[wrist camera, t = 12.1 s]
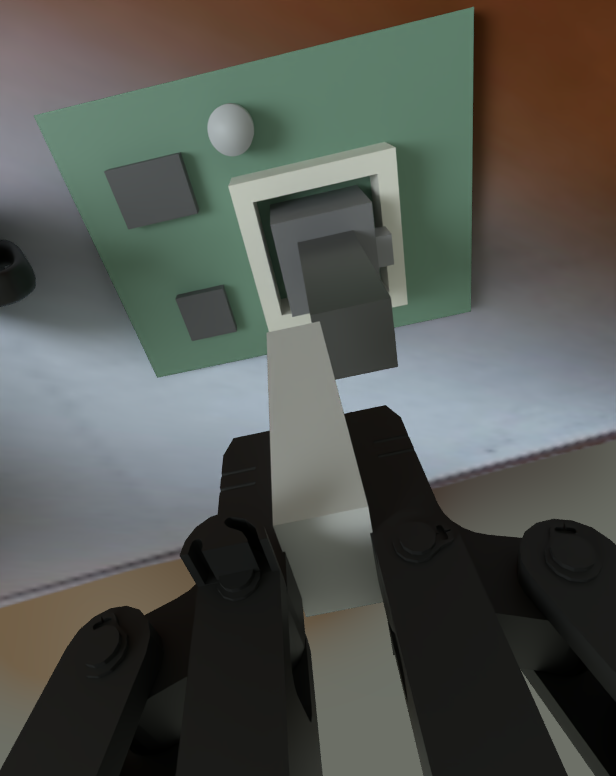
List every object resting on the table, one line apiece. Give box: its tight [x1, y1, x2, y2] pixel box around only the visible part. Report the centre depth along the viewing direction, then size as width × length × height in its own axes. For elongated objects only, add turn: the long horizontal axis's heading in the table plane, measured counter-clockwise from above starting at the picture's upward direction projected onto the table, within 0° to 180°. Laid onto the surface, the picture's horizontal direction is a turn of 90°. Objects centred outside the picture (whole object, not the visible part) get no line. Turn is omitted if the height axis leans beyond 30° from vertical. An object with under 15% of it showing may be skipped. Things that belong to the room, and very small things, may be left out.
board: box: [34, 7, 474, 378], centre depth 26 cm, size 22×16×4 cm
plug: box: [270, 185, 398, 380], centre depth 21 cm, size 6×5×13 cm
